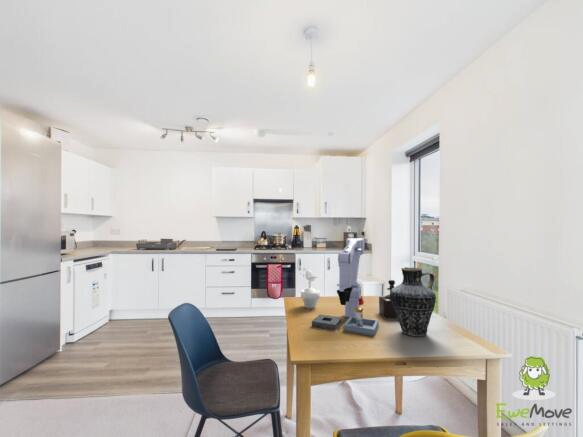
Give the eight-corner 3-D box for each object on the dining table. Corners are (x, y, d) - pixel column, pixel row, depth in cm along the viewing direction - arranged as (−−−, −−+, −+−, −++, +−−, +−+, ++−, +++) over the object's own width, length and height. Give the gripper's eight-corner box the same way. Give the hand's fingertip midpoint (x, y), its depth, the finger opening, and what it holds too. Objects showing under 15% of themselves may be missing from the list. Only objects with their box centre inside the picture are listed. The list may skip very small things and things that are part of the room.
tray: (350, 322, 150) (350, 316, 150) (378, 326, 144) (378, 320, 144) (343, 331, 137) (343, 325, 137) (374, 336, 131) (374, 329, 131)
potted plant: (298, 305, 180) (298, 264, 181) (315, 303, 184) (315, 264, 184) (305, 311, 168) (305, 267, 169) (323, 309, 172) (323, 267, 172)
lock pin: (356, 325, 144) (355, 307, 144) (364, 326, 142) (363, 307, 143) (354, 327, 140) (353, 309, 140) (363, 328, 138) (362, 309, 139)
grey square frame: (319, 319, 155) (319, 314, 155) (341, 322, 150) (341, 317, 150) (311, 326, 144) (311, 321, 144) (335, 330, 139) (335, 324, 139)
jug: (408, 343, 123) (407, 272, 124) (382, 327, 142) (381, 266, 143) (448, 338, 129) (447, 270, 129) (418, 323, 148) (417, 264, 148)
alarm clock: (350, 300, 180) (343, 289, 194) (349, 309, 181) (343, 297, 196) (366, 299, 181) (358, 288, 196) (365, 308, 182) (358, 297, 197)
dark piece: (405, 318, 156) (405, 284, 156) (385, 318, 156) (385, 284, 156) (394, 309, 172) (393, 279, 172) (375, 309, 171) (375, 279, 171)
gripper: (341, 273, 156) (340, 299, 156) (333, 277, 143) (333, 305, 143) (354, 274, 153) (354, 300, 153) (347, 278, 140) (347, 307, 140)
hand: (344, 303), depth 147 cm, fingers open, 7 cm apart
